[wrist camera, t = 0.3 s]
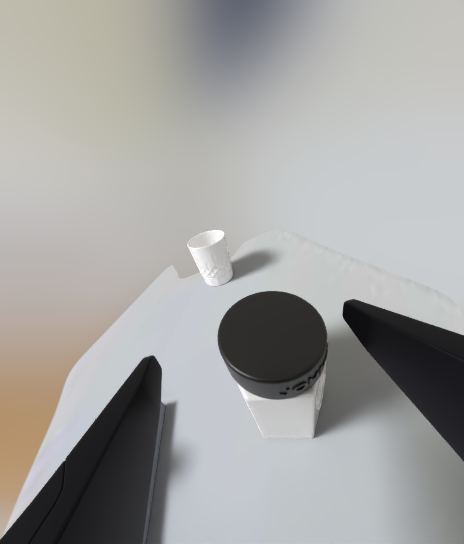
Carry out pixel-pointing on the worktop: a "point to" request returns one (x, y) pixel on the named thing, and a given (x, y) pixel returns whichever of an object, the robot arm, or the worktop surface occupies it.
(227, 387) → the worktop surface
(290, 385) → the jar
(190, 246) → the white cup
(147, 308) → the worktop surface
